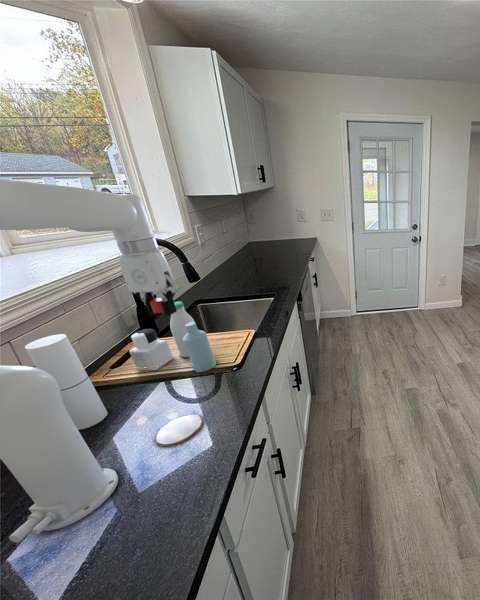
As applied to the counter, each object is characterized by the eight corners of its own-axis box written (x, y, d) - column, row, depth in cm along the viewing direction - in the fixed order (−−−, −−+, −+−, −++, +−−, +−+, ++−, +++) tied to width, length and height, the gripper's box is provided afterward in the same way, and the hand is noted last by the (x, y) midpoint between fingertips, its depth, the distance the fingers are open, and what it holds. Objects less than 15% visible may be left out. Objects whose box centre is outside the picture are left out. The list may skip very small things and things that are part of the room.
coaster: (186, 445, 76) (185, 443, 76) (146, 446, 76) (145, 444, 76) (210, 415, 85) (209, 413, 85) (174, 416, 85) (174, 415, 85)
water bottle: (209, 371, 105) (193, 328, 98) (190, 372, 105) (173, 329, 99) (220, 360, 111) (206, 319, 104) (202, 361, 111) (187, 319, 105)
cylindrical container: (86, 431, 82) (38, 349, 73) (66, 428, 84) (16, 348, 74) (114, 411, 89) (73, 334, 79) (94, 409, 90) (52, 333, 81)
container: (155, 357, 116) (142, 326, 111) (174, 358, 114) (161, 326, 109) (136, 370, 108) (121, 337, 103) (156, 370, 107) (141, 337, 102)
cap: (165, 306, 87) (161, 296, 85) (175, 308, 85) (171, 297, 84) (150, 312, 83) (145, 301, 82) (159, 314, 82) (155, 303, 80)
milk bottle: (196, 357, 114) (178, 307, 106) (175, 358, 114) (156, 308, 106) (208, 346, 121) (192, 298, 113) (189, 347, 121) (171, 299, 114)
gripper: (94, 251, 75) (123, 319, 82) (156, 248, 73) (180, 319, 80) (123, 244, 82) (148, 308, 89) (180, 242, 80) (201, 308, 87)
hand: (163, 313), depth 84 cm, fingers closed on cap, 4 cm apart
